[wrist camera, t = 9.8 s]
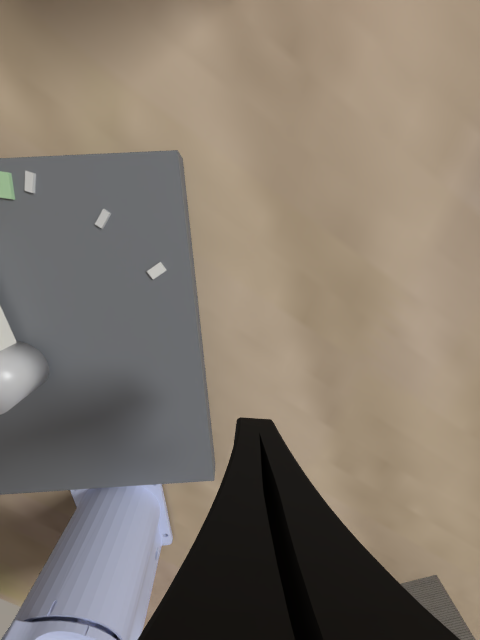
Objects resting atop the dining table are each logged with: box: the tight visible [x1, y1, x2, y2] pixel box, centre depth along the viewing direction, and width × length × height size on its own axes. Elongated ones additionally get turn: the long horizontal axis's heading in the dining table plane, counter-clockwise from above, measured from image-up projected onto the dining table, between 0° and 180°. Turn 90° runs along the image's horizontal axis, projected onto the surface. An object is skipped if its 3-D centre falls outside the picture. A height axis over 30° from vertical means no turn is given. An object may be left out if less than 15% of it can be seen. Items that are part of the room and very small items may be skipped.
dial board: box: [0, 150, 215, 495], centre depth 18 cm, size 24×24×2 cm
